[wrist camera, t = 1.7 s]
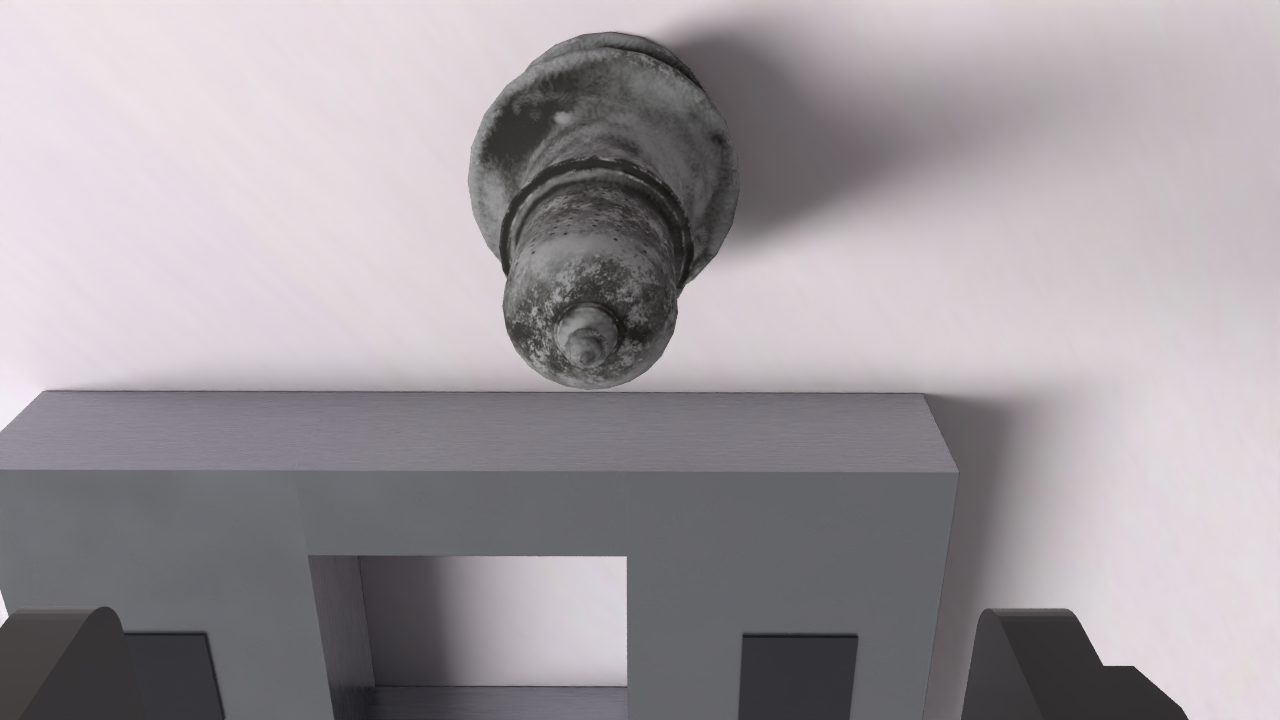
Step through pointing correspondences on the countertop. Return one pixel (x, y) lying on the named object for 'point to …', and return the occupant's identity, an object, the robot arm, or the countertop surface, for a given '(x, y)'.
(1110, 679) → the robot arm
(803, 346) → the countertop surface
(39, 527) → the gray slotted block
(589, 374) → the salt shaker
